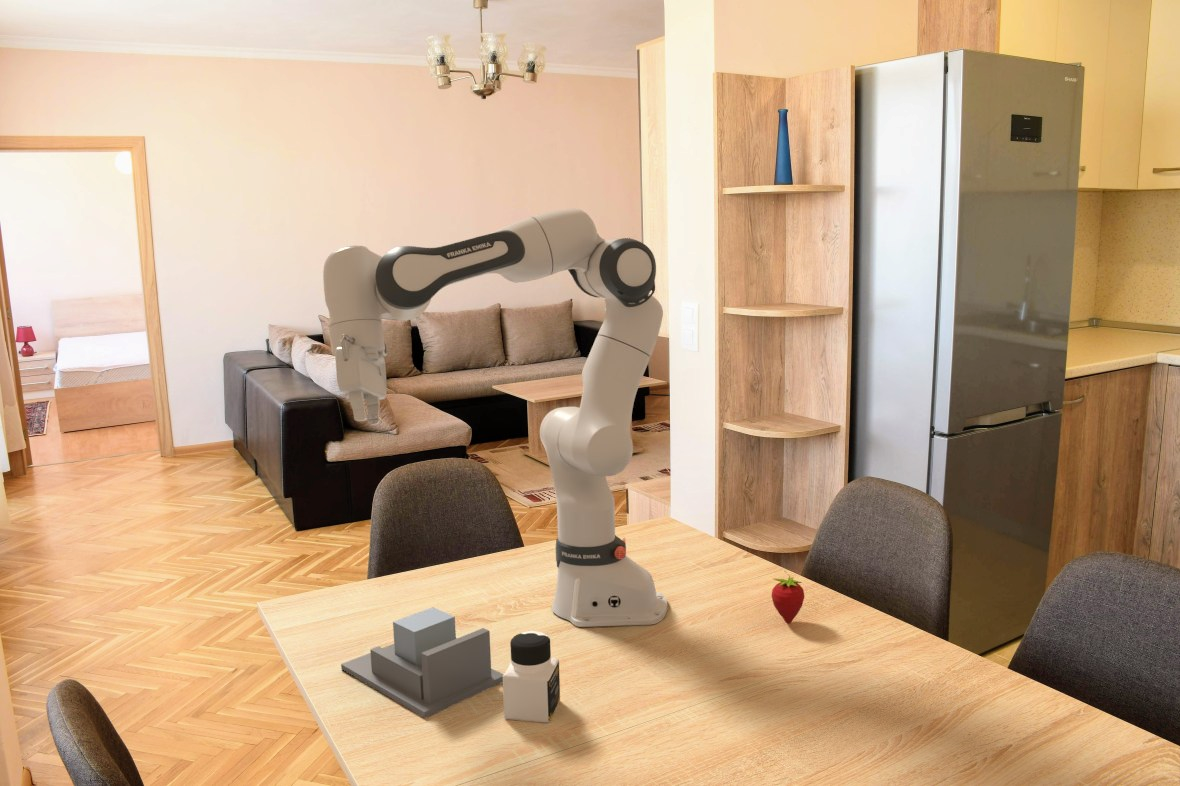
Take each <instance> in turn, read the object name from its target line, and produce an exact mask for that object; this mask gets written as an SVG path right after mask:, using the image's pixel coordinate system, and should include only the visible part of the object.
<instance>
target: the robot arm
mask: <svg viewBox="0 0 1180 786" xmlns="http://www.w3.org/2000/svg"><path fill="white" fill-rule="evenodd" d="M566 270H567V271H568V273H570V275H571V277H572V279H573V281H574V283H575V284H576V286H577V287H578V288H579V289H580V290H581V291H582V292H583V293H585V294H586V295H588V296H590V297H593V298H601V299H604V302H605V315H604V318H603V319H604V320H603V322H602V324H601V325H600V326H601V327H600V328H599V331H598V333H597V335H596V337H595V339H594V342H593V345H592V346H591V348H590V352H589V354H588V355H587V359H586V361H585V363H584V366H583V368H582V371H581V380H582V392H581V400H580V405H579V407H578V406H562V407H557V408H554V409H552V410H550V411H549V412H547V414H546V415H545V416H544V417H543V419H542V421H541V423H540V426H539V427H540V428H539V438H540V441H541V443H542V445H543V447H544V450H545V453H546V456H547V460H548V465H549V469H550V470H549V471H550V475H551V480H552V483H553V487H554V493H555V501H556V514H557V515H556V516H557V537H556V538H555V562H556V567H557V575H556V576H557V579H556V586H555V592H554V598H553V601H552V604H551V610H552V612H553V613H554V614H555V615H556V616H557V617H559V618H562V619H565V620H567V621H569V622H570V623H572V625H573V626H575V627H580V628H584V627H587V628H588V627H612V626H613V627H614V626H615V627H616V626H644V625H645V626H646V625H655V624H657V623H659V622H660V621H662V620H663V619H664V618H665V616H666V615H667V612H668V607H669V606H668V600H667V598H666V596H665V595H664V594H663V593H661V592H659V591H656V587H655V586H656V585H655V581H654V578H653V576H652V574H651V573H650V571H649V570H648V569H646V568H645V567H643V566H641V565H640V564H638V562H636V561H634V560H633V559H632V558H631V557H629V556H627V544H626V538H625V537H623V539H622V538H620V537H618V536H617V535H616V515H615V514H616V513H615V511H616V510H615V509H616V508H615V505H616V504H615V497H614V494H613V491H612V490H611V488H610V486H609V484H608V480H607V477H612V476H616V475H618V474H620V473H622V472H623V471H624V470H625V469H626V468H627V467H628V465H629V464H630V462H631V460H632V456H633V454H634V453H633V452H634V444H633V440H632V437H631V424H632V414H633V408H634V402H635V399H636V395H637V392H638V389H639V387H640V384H641V381H642V380H643V377H644V374H645V372H646V369H647V367H648V364H649V362H650V360H651V357H652V355H653V352H654V350H655V347H656V344H657V340H658V339H659V338H658V337H659V333H660V330H661V326H662V321H663V317H664V310H663V306H662V304H661V303H660V302H659V300H658V299H657V298H655V296H653V295H654V294H655V291H656V281H655V280H656V276H657V263H656V257H655V256H654V253H653V251H652V250H651V249H650V247H648V246H647V245H646V244H644V243H643V242H642V241H640V240H636V239H633V238H629V237H624V238H607V239H604V238H602V237H601V236H600V235H599V233H598V231H597V227H596V224H595V222H594V220H593V219H592V218H591V217H590V215H589V214H588V213H587V212H585V211H583V210H581V209H578V208H568V209H560V210H553V211H549V212H544V213H539V214H537V215H533V216H530V217H526V218H524V219H520V220H517V221H514V222H513V223H510V224H508V225H506V226H504V227H501V228H499V229H497V230H495V231H492V232H489V233H487V234H484V235H479V236H476V237H473V238H468V239H465V240H461V241H457V242H454V243H451V244H446V245H442V246H437V247H422V246H421V247H420V246H415V245H414V246H413V245H411V246H410V245H405V246H403V245H402V246H399V247H395V248H393V249H391V250H389V251H388V252H386V253H385V254H384V255H383V256H382V255H379V254H377V253H376V252H374V251H372V250H370V249H369V248H368V247H366V246H363V245H352V246H351V245H350V246H346V247H342V248H339V249H337V250H335V251H334V252H331V253H330V254H329V256H327V258H326V259H325V261H324V265H323V271H322V273H323V274H322V275H323V276H322V277H323V291H324V292H323V293H324V302H325V306H326V307H327V309H328V313H329V318H328V333H329V341H330V349H331V355H333V357H334V356H335V358H334V359H335V368H336V372H335V373H336V382H337V387H338V389H339V391H340V392H342V393H345V394H348V399H349V400H348V401H349V404H350V406H351V409H352V412H353V414H352V415H353V419H354V421H356V422H365V421H367V424H368V425H371V426H375V425H379V424H380V422H381V421H380V410H381V409H380V407H381V403H380V400H381V401H382V400H385V399H386V397H387V394H388V392H387V391H388V383H387V370H386V369H387V368H386V362H385V361H386V359H385V357H387V356H388V349H387V345H386V342H385V336H384V330H383V322H382V321H383V320H390V321H410V320H415V319H416V318H418V317H420V316H421V315H422V314H423V313H424V312H425V311H426V310H427V308H428V307H429V305H430V303H431V300H432V298H434V296H435V295H436V294H437V293H438V292H440V290H442V289H443V288H445V287H447V286H450V285H452V284H456V283H460V282H463V281H466V280H470V279H474V278H476V277H480V276H483V275H488V274H489V275H490V274H498V275H500V276H502V277H503V278H504V279H506V280H507V281H509V282H511V283H515V284H516V283H517V284H518V283H525V282H530V281H531V282H532V281H535V280H539V279H543V278H546V277H549V276H551V275H552V276H553V275H555V274H558V273H559V272H563V271H566ZM364 401H365V402H364ZM365 406H366V407H365ZM366 408H367V409H366Z"/></svg>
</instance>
